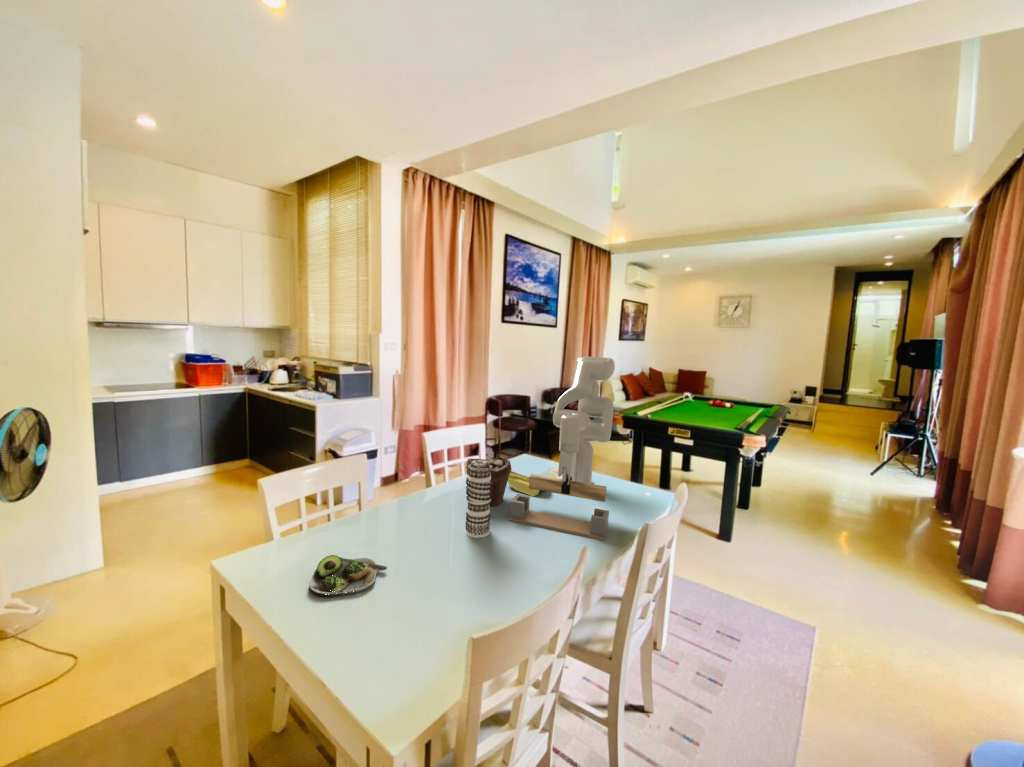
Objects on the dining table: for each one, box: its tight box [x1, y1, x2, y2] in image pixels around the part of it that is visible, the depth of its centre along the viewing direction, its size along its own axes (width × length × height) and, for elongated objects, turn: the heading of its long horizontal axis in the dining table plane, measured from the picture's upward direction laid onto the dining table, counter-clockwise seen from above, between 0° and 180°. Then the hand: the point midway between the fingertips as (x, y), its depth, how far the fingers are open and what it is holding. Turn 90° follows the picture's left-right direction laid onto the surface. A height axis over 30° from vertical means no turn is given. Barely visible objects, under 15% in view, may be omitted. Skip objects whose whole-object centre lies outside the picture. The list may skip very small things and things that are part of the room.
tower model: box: [465, 460, 493, 539], centre depth 143 cm, size 9×9×25 cm
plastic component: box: [507, 470, 541, 497], centre depth 187 cm, size 20×7×10 cm
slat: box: [528, 473, 607, 502], centre depth 163 cm, size 3×30×5 cm, turn 69°
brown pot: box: [465, 457, 513, 507], centre depth 172 cm, size 18×20×18 cm
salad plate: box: [308, 554, 388, 598], centre depth 116 cm, size 19×18×5 cm
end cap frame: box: [508, 493, 610, 541], centre depth 153 cm, size 10×35×7 cm, turn 69°
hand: (566, 491), depth 164 cm, fingers closed on slat, 3 cm apart
